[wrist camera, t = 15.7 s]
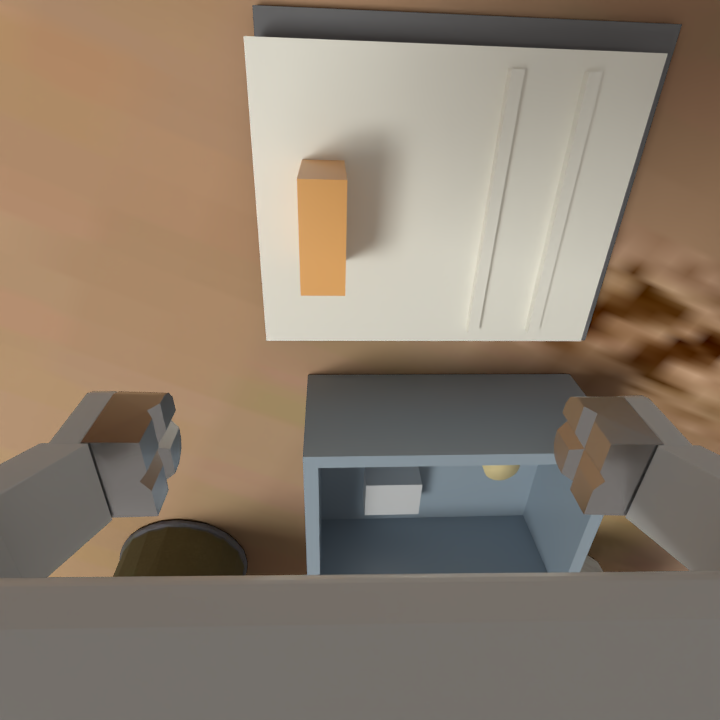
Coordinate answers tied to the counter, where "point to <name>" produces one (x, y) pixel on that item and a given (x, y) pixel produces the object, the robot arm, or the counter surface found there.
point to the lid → (438, 185)
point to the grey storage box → (439, 475)
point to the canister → (181, 551)
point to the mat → (478, 44)
